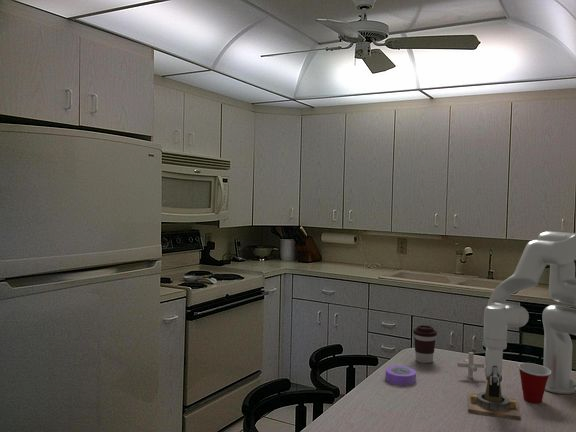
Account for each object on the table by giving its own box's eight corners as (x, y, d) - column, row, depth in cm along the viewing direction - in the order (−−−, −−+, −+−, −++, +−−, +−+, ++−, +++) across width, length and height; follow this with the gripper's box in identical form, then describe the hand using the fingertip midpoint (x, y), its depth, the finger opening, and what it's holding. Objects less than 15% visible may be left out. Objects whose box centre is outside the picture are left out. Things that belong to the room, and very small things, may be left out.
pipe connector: (487, 382, 202) (488, 357, 201) (461, 381, 202) (462, 356, 202) (478, 373, 212) (479, 349, 211) (454, 372, 212) (454, 348, 212)
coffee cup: (413, 363, 223) (414, 329, 222) (411, 356, 233) (412, 323, 232) (437, 365, 221) (438, 330, 221) (434, 358, 231) (435, 324, 231)
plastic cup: (536, 409, 177) (537, 374, 176) (509, 397, 186) (511, 365, 186) (557, 403, 182) (558, 370, 181) (530, 393, 191) (531, 361, 191)
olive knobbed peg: (483, 399, 182) (484, 368, 182) (501, 401, 180) (503, 370, 180) (483, 405, 176) (485, 373, 176) (503, 408, 174) (504, 376, 174)
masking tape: (410, 387, 195) (411, 377, 195) (381, 381, 201) (381, 372, 201) (419, 378, 205) (419, 369, 205) (391, 373, 211) (391, 363, 211)
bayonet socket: (515, 401, 183) (516, 393, 183) (520, 419, 168) (520, 410, 168) (467, 395, 188) (468, 386, 188) (468, 412, 173) (468, 403, 173)
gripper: (482, 334, 187) (480, 381, 187) (484, 347, 170) (482, 399, 171) (504, 337, 184) (503, 384, 185) (508, 350, 168) (506, 402, 168)
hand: (493, 391), depth 178 cm, fingers open, 9 cm apart
